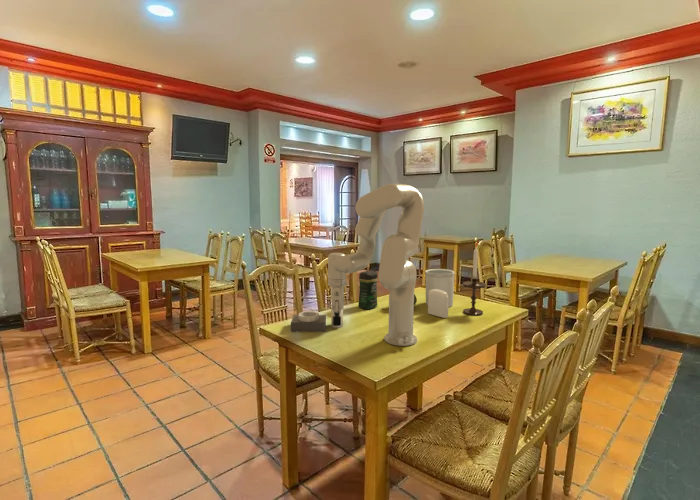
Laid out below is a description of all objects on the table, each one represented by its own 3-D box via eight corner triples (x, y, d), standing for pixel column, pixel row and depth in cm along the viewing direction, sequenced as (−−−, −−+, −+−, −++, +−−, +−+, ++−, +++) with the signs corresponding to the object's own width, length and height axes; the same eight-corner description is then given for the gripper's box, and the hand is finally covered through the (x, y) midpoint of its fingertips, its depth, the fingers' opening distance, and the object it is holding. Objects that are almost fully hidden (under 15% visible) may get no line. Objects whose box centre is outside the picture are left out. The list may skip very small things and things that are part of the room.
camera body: (324, 331, 162) (324, 317, 161) (290, 331, 162) (290, 317, 161) (326, 323, 172) (325, 310, 171) (294, 323, 171) (293, 310, 171)
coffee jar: (368, 310, 191) (369, 273, 189) (356, 307, 196) (356, 271, 194) (380, 306, 199) (380, 270, 196) (367, 303, 204) (367, 268, 201)
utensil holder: (419, 305, 201) (420, 271, 199) (431, 299, 213) (432, 267, 211) (446, 310, 193) (447, 275, 190) (457, 303, 204) (459, 270, 202)
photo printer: (426, 313, 187) (426, 288, 185) (431, 312, 189) (432, 287, 188) (443, 319, 179) (444, 292, 177) (449, 317, 181) (450, 291, 180)
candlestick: (488, 312, 188) (492, 240, 184) (478, 317, 181) (482, 242, 176) (467, 308, 196) (470, 238, 191) (457, 312, 188) (460, 240, 183)
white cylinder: (342, 328, 166) (342, 309, 165) (331, 328, 166) (331, 309, 165) (342, 324, 171) (343, 306, 170) (331, 324, 171) (331, 306, 170)
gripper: (345, 286, 158) (345, 330, 160) (345, 277, 175) (345, 317, 177) (327, 286, 158) (327, 330, 160) (329, 277, 174) (329, 317, 177)
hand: (337, 322), depth 169 cm, fingers closed on white cylinder, 5 cm apart
